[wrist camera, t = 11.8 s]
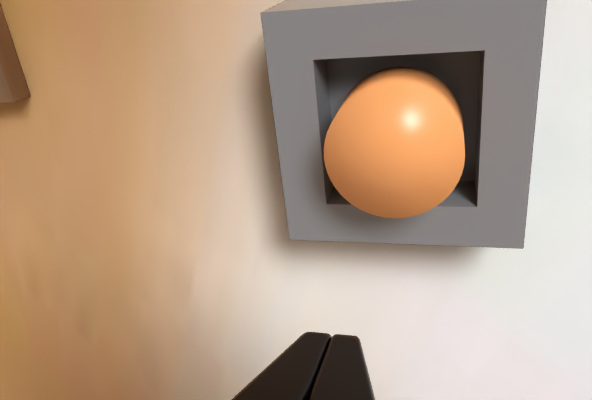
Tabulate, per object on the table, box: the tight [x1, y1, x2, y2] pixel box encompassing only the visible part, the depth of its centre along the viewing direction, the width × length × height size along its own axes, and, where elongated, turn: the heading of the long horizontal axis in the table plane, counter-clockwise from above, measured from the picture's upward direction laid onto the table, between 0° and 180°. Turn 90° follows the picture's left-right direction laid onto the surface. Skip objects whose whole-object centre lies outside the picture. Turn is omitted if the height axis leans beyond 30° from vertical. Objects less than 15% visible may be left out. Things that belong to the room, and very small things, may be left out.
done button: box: [324, 67, 465, 218], centre depth 16 cm, size 4×4×2 cm
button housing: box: [261, 0, 547, 249], centre depth 18 cm, size 8×8×3 cm
